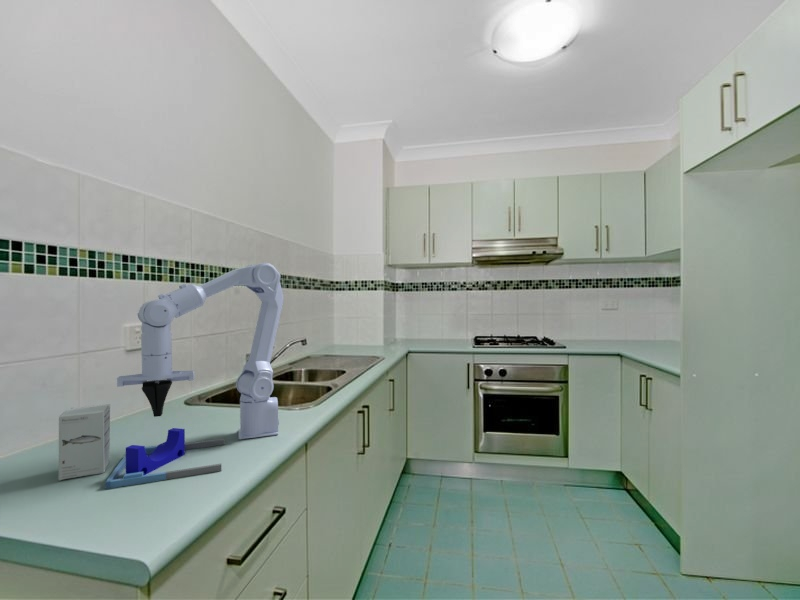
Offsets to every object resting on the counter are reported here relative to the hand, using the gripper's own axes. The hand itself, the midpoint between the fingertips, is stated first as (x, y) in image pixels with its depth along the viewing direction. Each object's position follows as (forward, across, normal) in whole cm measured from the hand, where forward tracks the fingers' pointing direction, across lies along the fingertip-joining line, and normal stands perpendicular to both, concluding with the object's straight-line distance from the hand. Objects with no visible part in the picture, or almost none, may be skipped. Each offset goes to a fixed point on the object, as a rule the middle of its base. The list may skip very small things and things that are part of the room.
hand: (158, 415), depth 88 cm
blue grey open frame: (+9, -3, +5) cm, 11 cm away
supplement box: (+9, +13, +2) cm, 16 cm away
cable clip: (+10, 0, +4) cm, 11 cm away
